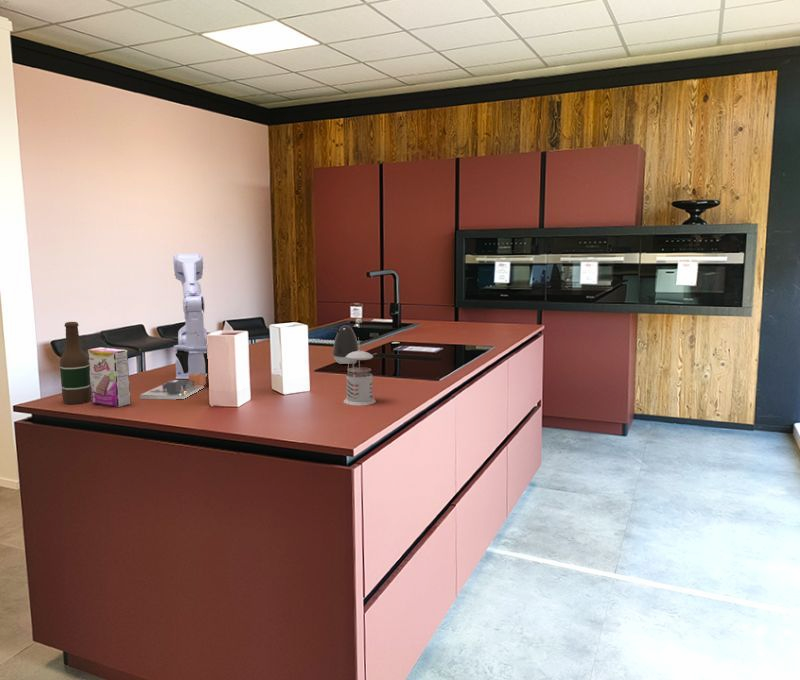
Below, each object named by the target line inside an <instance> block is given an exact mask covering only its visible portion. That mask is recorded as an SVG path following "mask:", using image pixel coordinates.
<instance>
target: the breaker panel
mask: <svg viewBox="0 0 800 680" xmlns="http://www.w3.org/2000/svg"><path fill="white" fill-rule="evenodd" d="M180 380H181V391H179V392H177V393H167V384H166V382H165V383H162V384H161V385H158V386H156V387H154V388H152V389H149V390H148V391H146V392H143V393H140V394H139V399H143V400H145V399H146V400H176V399H184V400H186V399H188V398H190V397H191V396H190V395H192V394H194V393H196V392H197V393H199V392H200V391H199V390H201V389H203V388H204V389H205V386H204V385H194V381H189V380H184V379H180ZM204 389H203V390H204ZM198 391H199V392H198ZM201 391H202V390H201ZM197 393H196V394H197ZM194 395H195V394H194ZM189 396H190V397H189ZM192 396H193V395H192ZM187 397H188V398H187ZM185 398H186V399H185Z"/></svg>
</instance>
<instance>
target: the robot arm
mask: <svg viewBox="0 0 800 680" xmlns="http://www.w3.org/2000/svg"><path fill="white" fill-rule="evenodd" d="M203 257H204V256H203V254H202V253H174V254H173V257H172V258H173V271H174V277H175V279H176V280H177V281H180V283H181V286H182V294H183V298H182V309H183V313H184V319H185V320H184V321H185V324H184V325H183V326H182V327H181V328H180V329H179V330H178V332H177V333H178V334H177V335H178V336H177V341H178V342H177V344H176V345H173V352H175V375H176V377H175V379H174V380H189V375H191V374H193V373H204V374H205V377H206V378H207V377H208V376H207V374H208V359H207V345H206V336H208V334H207V333H208V331H207V329H206V327H205V325H204V323H205V321H204V313H205V310H206V308H205V307H206V306H205V305H206V304H205V299H204V295H203V294H202V287H201V284H200V282H199V280H201V279H202V278H203V270H204V258H203Z"/></svg>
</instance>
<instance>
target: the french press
mask: <svg viewBox="0 0 800 680" xmlns="http://www.w3.org/2000/svg"><path fill="white" fill-rule="evenodd" d="M355 323H357V324H358V327H360V323H361V324H362V323H363V320H362V319H361V318H356V319H355ZM360 346H361V345H360V342H358V348H359V350H358V351H355V352H351V353H349V354H348V355H347V356H346V358H347V359H350V360H351V363H352V360H354V362H355V360H356V362H355V363H354V362H353V363H352V364H351V365H352V367H350V365H349V363H348V365H347V370H346V371H347V374H346V392H347V393H346V398H345V399H344V400H343V403H344V404H345V403H346V405H348V404H349V405H350V406H367V405H373V404H375V403H376V402H377V401H376V399H375V398H374V395H373V394H374V393H373V392H374V391H373V389H374V388H373V384H374V383H373V380H374V379H373V373H371V371H372V369H371V368H370V367H361V361H366V360H367V361H368V360H371V359H373V357H374V355H372V354H371V353H369V352H367V351H363V350H361V349H360ZM350 360H349V362H350ZM357 363H358V366H355V364H357ZM349 367H350V368H349Z"/></svg>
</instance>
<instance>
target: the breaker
mask: <svg viewBox="0 0 800 680" xmlns="http://www.w3.org/2000/svg"><path fill="white" fill-rule="evenodd" d="M181 380H182V379H171V380H169V381H166V382H165V383H166V384H167V393H177V392H179V391H181Z"/></svg>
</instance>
